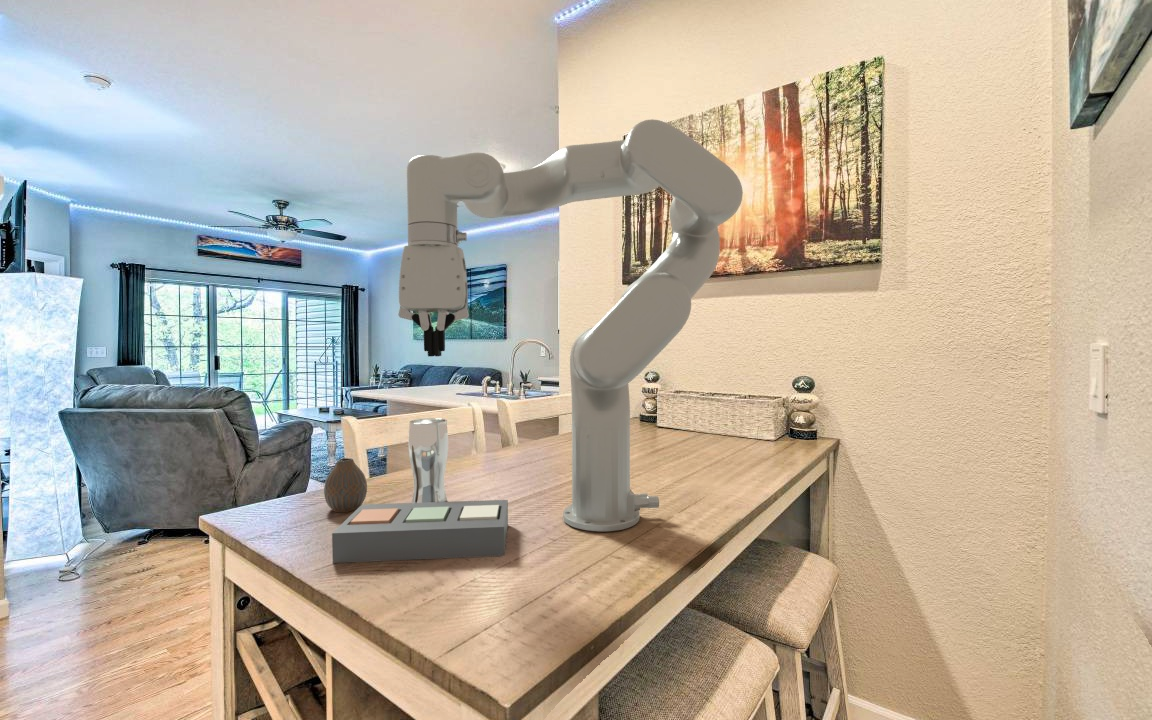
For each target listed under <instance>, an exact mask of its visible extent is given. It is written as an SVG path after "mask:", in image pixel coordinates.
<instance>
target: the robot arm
mask: <svg viewBox="0 0 1152 720" xmlns="http://www.w3.org/2000/svg"><path fill="white" fill-rule="evenodd" d="M658 187H660V188H661V189H663V190H664V191H665V192H667V193H668V194H669V195H671V196H672V197H673V198H672V200H671V202H670V203H671V204H670V206H669V221H670V226H671V232H672V233H671V235H672V236H671V241H670V242H669V243H670V244H669V245H668V246H667V248H666V249H665V250H664V251H663V252H662V253H661V255H660V256H659V257H657V259H656V260H655V262H654V263H652V265H650V266H649V268H647V270H645V271H644V273H643V274H642V275H641V276H640V277H639V278H638V279H636V280H635V281H633V282H632V283H630V285H628V287H626V289H625V290H624V291H623V293H622V294H621V296H620V299H619V301H617V303H616V304H615V305H614V306H613V307H612V308H610V310H609V311H608V312H607V313H606V314H605V315H604V316H603V317H602V319H600V321H599V322H597V323H596V325H594V326H593V327H591V328H587V329H586V330H584V331H583V332H582V333H580V334H579V335H578V336H577V337H576V339H575V340H574V342H573V344H572V347H571V350H570V356H569V369H570V370H569V371H570V387H571V388H570V390H571V392H570V393H571V483H572V484H571V492H572V493H571V504H570V505H567V506H566V507H565V508H564V509H563V511H562V520H563V521H564V523H565V524H567V525H569V526H570V527H572V528H575V529H578V530H582V531H589V532H597V533H598V532H599V533H600V532H604V533H605V532H615V531H622V530H627V529H629V528H631V527H633V526H635V525H637V524H638V522H639V521H640V511H641V509H643V508H644V509H646V508H648V509H659V508H660V498H659V496H658V495H648V493H636V494H635V493H634V492H633V491H632V489H631V460H630V459H631V457H630V456H631V443H630V442H631V427H630V426H631V404H630V403H631V402H630V389H629V383H631V382H632V381H633V380H634V379H636V377H637V376H639V375H640V374H641V373H642V372H643V371H644V370H645V369H646V368H647V366H649V364H650V363H652V362H653V360H654V359H655V358H656V357H657V356H658V355H659V354H660V353H661V352H662V351H663V350H664V349H665V348H666V347H667V346H668V345H669V344H670V343H671V342H672V341H673V339H675V337H676V336H677V335H678V334H679V333H680V332H681V331H682V329H683V328H684V327H685V325H686V323H687V321H688V319H689V317H690V314H691V310H692V299H693V298H694V296H695V295H696V294H697V293H698V291H699V290H700V289H701V288H702V287H703V286H704V285H705V284H706V282H708V280H709V278H710V277H711V276H712V275H713V273H714V271H715V270H716V267H717V265H718V263H719V258H720V252H721V251H720V250H721V247H720V246H721V243H720V242H721V239H720V232H719V226H720V225H721V226H722V224H724V223H726V222H727V221H729V220H730V219H731V218H732V217H733V216H735V214H736V213H737V212H738V211H739V208H740V207H741V205H742V201H743V196H744V195H743V185H742V182H741V181H740V179H739V177H738V175H737V173H735V171H734V170H733V169H732V168H731V167H730V166H728V165H727V164H726V163H725V162H724V161H722V160H721V159H720V158H719V157H717V156H716V155H715V154H713V153H711V151H709V150H708V149H706V148H705V147H704V146H702V145H701V144H699V143H698V142H697V141H696V140H695V139H694V138H692V137H690V136H689V135H687V134H686V133H684V132H683V131H682V130H680V129H679V128H676V127H675V126H674V125H672V124H669V123H667V122H666V121H663V120H659V119H654V118H653V119H645V120H643V121H640V122H638V123H637V124H635V125H634V126H633V127H632V128H631V130H630V131H629V133H628V134H627V136H626V138H625V139H621V140H620V139H619V140H613V141H605V142H596V143H584V144H583V143H582V144H572V145H567V146H564V147H563V148H561V149H558V150H557V151H556V152H554V153H553V154H552V155H551V156H549V157H548V158H547V159H545V160H544V161H543V162H542V163H540V164H538V165H536V166H534V167H530V168H527V169H523V170H518V171H511V172H504V170H503V168H502V165H501V163H500V162H499V160H497V158H495V157H494V156H492V155H490V154H488V153H485V152H468V153H463V154H455V155H449V156H439V155H434V154H421V155H416V156H414V157H412V158H411V159H410V160H409V161H408V163H407V166H406V192H407V193H406V194H407V196H406V198H407V201H406V202H407V203H406V205H407V207H406V208H407V245H405V246H404V247H403V250H402V254H401V255H402V256H401V261H400V270H399V282H398V285H399V286H398V303H399V306H400V307H399V310H398V315H397V316H398V317H399V318H401V319H405V320H409V321H413V322H414V323H415V324H417V326H418V327H420V329H421V330H422V331H423V350H424V352H427V357H442V352H445V351H446V331H447V330H448V328H449V327H450V326H451V325H452V324H453V323H454V322H456V321H460V320H465V319H468V318H469V316H470V315H469V309H468V304H469V303H468V302H469V297H468V296H469V293H468V291H469V290H468V277H467V266H466V265H467V264H466V260H465V259H466V258H465V255H464V250H463V248H461V247H459V244H460V243H462V242H467V240H468V236H467V235H468V234H467V232H462V231H460V230H459V229H458V203H459V202H462V203H464V205H465V206H466V208H467V209H468V211H470V213H472V214H473V215H475V216H477V217H481V218H485V219H495V218H496V219H497V218H506V217H516V216H523V215H528V214H534V213H538V212H543V211H545V210H550V209H555V208H559V207H562V206H565V205H567V204H571V203H575V202H581V201H582V202H584V201H592V200H600V199H609V198H617V197H618V198H619V197H627V196H637V195H643V194H646V193H650V192H652V191H654V190H656V189H658ZM415 312H416V313H415ZM431 313H437V322H436V326H435V329H434V327H433V324H432V317H431Z"/></svg>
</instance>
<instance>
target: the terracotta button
mask: <svg viewBox="0 0 1152 720" xmlns="http://www.w3.org/2000/svg"><path fill="white" fill-rule="evenodd" d="M397 515H398V508H393V509H364V510H362V511H361V512H360V513H359V514H358V515H357V516H356V517H355V518H354V519H353V520H352V521H351V522H350V525H359V524H387V523H392V521H393V520H394V519H395V517H396V516H397Z"/></svg>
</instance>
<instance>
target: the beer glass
mask: <svg viewBox="0 0 1152 720" xmlns="http://www.w3.org/2000/svg"><path fill="white" fill-rule="evenodd" d="M408 426H409V429H408V455H409V461H410V466H411V471H412V472H411V473H412V477H413V492H412V499H411V503H425V502H447V500H448V499H447V494H446V488H445V476H446V475H445V474H446V468H447V462H448V454H449V433H448V424H447V419H446V418H439V417H437V418H436V417H435V418H434V417H433V418H431V417H430V418H417V419H413V420H410V421H409V425H408Z"/></svg>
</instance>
